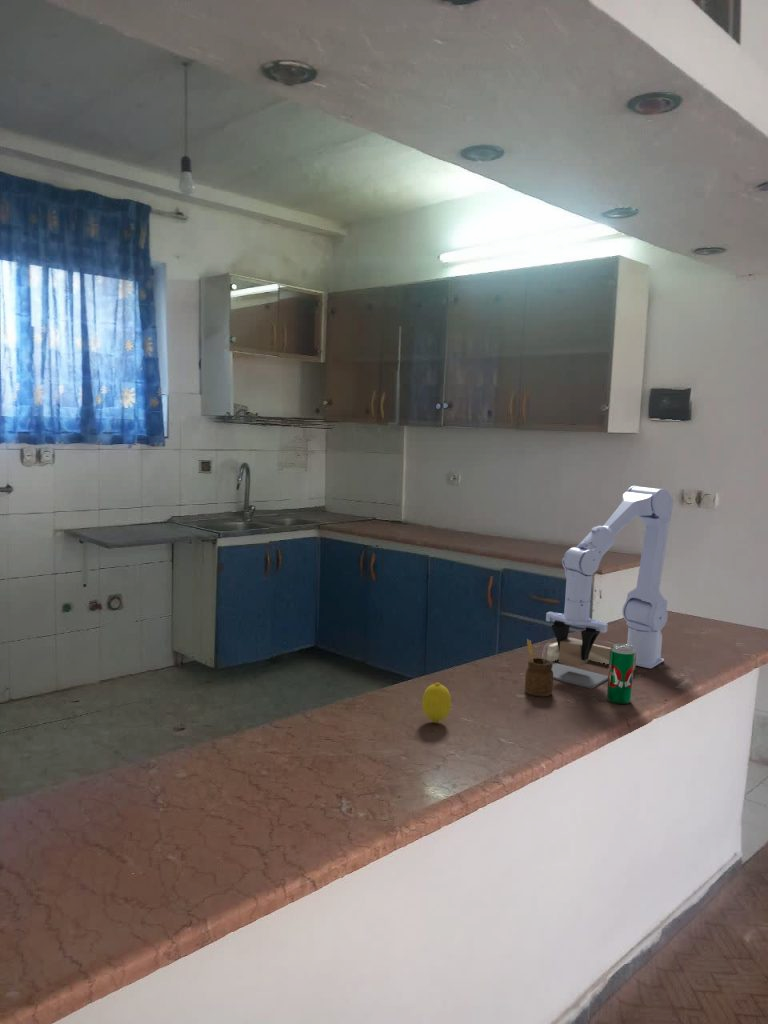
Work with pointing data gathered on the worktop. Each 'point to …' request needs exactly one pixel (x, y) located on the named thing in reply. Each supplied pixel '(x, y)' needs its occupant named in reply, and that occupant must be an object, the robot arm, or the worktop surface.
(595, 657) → the beige angled piece
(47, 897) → the worktop surface
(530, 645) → the utensil holder
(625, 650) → the soda can
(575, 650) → the wooden cube
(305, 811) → the worktop surface
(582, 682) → the rubber mat
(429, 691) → the lemon
